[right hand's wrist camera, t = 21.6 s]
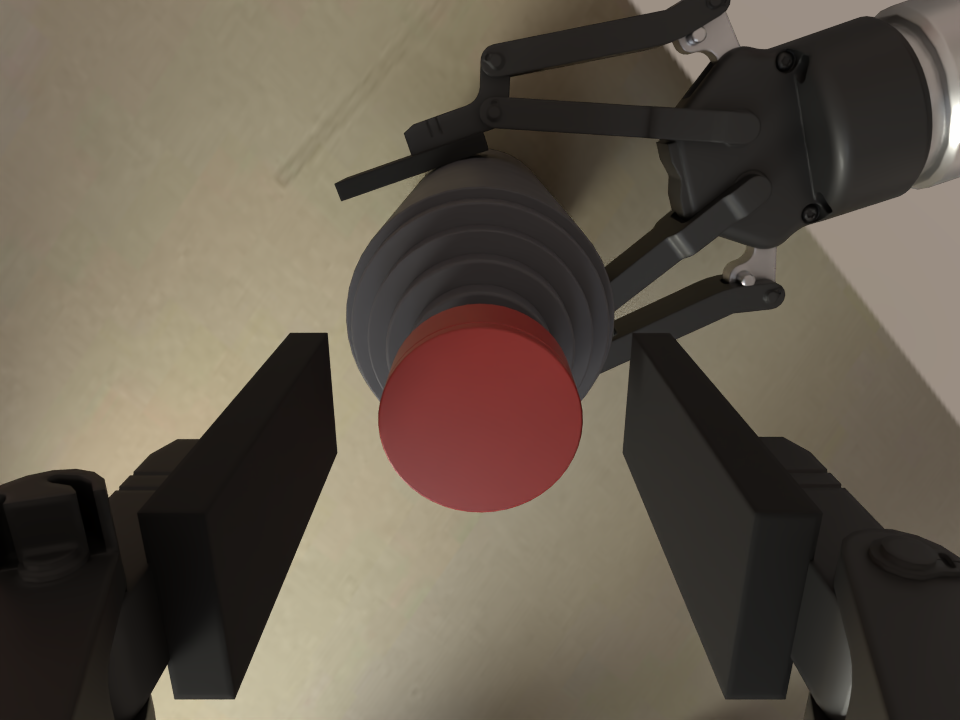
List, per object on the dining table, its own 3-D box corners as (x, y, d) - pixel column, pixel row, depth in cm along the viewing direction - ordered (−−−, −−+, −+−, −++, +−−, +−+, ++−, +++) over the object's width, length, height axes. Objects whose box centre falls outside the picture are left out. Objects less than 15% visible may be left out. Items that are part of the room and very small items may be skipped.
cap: (363, 437, 15) (350, 475, 13) (426, 274, 13) (419, 295, 12) (528, 495, 15) (533, 538, 14) (602, 343, 14) (617, 372, 12)
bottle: (573, 184, 36) (743, 319, 13) (514, 309, 38) (566, 614, 15) (442, 124, 35) (369, 151, 12) (390, 256, 37) (242, 497, 14)
